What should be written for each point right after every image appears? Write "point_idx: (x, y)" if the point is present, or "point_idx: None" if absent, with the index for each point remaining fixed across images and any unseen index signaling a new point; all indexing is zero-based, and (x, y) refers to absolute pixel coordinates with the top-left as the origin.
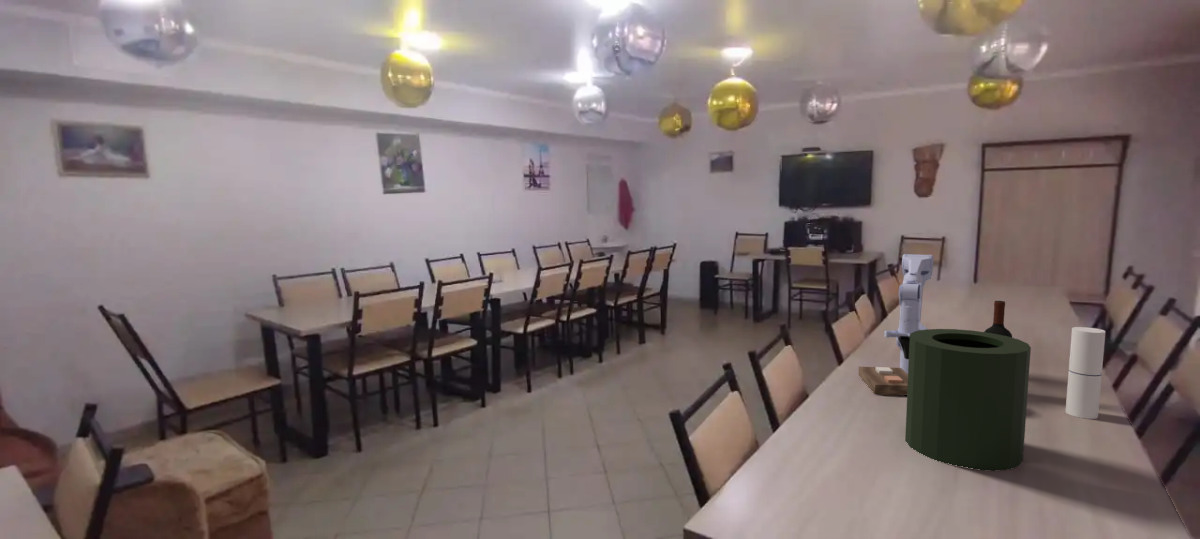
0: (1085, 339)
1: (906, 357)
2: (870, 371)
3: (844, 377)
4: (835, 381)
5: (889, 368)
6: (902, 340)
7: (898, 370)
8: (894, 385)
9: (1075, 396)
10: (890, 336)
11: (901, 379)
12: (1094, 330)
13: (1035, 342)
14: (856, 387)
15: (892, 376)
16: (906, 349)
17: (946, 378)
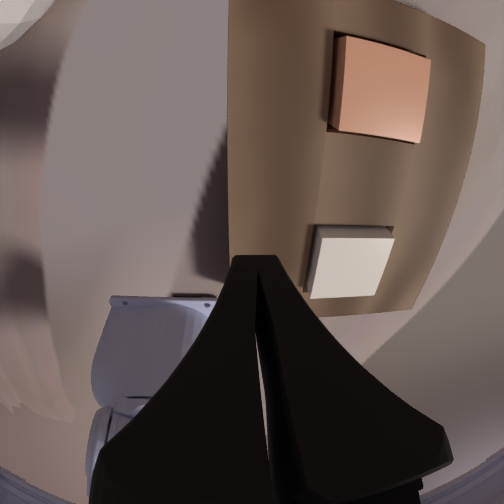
0: None
1: (281, 264)
2: (411, 252)
3: (449, 256)
4: (494, 212)
5: (317, 281)
6: (451, 455)
7: None
8: (405, 5)
9: None
10: (498, 460)
11: (350, 53)
12: None
13: (10, 410)
14: (476, 141)
15: (380, 124)
16: (314, 334)
17: None
